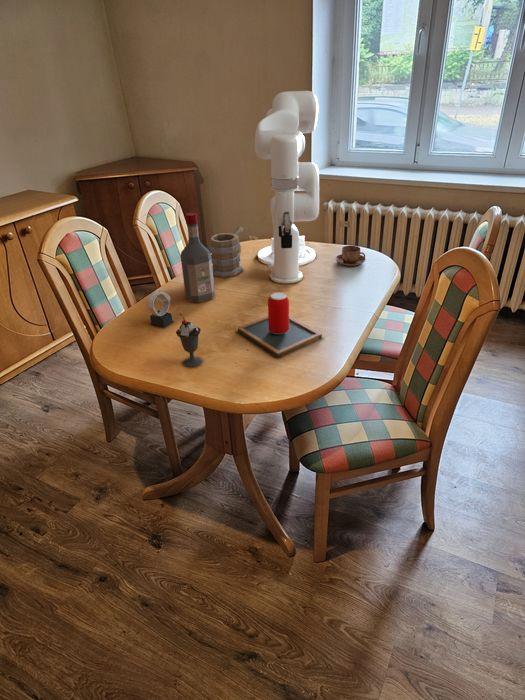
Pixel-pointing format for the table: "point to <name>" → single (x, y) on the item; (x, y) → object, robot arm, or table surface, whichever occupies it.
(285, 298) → the beverage can
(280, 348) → the chalkboard
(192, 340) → the sundae
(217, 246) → the tankard
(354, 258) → the cup and saucer
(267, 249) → the dish
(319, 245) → the table surface
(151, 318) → the ring sculpture on stand
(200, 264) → the liquor
